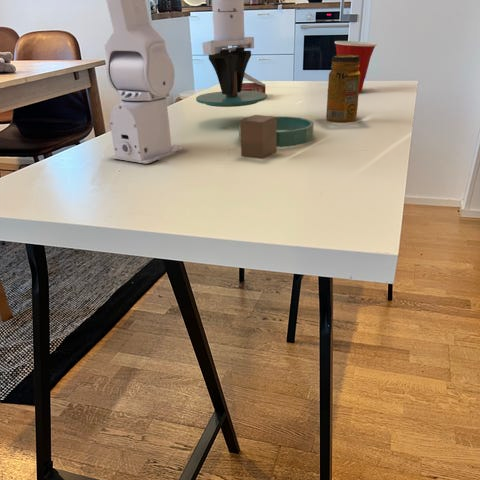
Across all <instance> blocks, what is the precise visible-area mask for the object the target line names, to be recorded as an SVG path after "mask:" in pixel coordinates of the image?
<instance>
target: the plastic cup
mask: <svg viewBox="0 0 480 480" xmlns="http://www.w3.org/2000/svg"><path fill="white" fill-rule="evenodd" d="M334 44H335V52H336V56H337V55H357V56H359V57H360V60H359V72H360V85H359V94H360V93H362V90H363V88H364V83H365V79H366V77H367V73H368V69H369V65H370V62H371V57H372V55H373V52H374V49H375V48H376V46H377V45H378V44H377V43H375V42H368V41H354V40H335V41H334Z"/></svg>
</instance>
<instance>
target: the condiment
mask: <svg viewBox="0 0 480 480" xmlns="http://www.w3.org/2000/svg"><path fill="white" fill-rule="evenodd" d="M359 60H360V57H359V56H357V55H337V54H336V55H333V56H332V58H331V66H330V68H331V70H330V72H329V73H328V82H327V84H328V85H327V95H326V96H327V100H326V112H325V113H326V114H325V118H326V121H327V122H330V123H336V124H337V123H339V124H342V123H343V124H345V123H352V122H355V121H356V119H357V116H358V115H357V114H358V109H359V108H358V106H359V96H360V95H359V94H360V93H359V85H360V72H359Z"/></svg>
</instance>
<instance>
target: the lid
mask: <svg viewBox="0 0 480 480" xmlns="http://www.w3.org/2000/svg"><path fill="white" fill-rule="evenodd" d="M267 99H268V94H267V93H266V92H265V93H262V92H256V91H241V92H239V93H238V88H237V70H235V72H234V89H233V94H232V95H226V94H222V91H214V92H208V93H203V94H200V95H198V96H195V100H196V102H197V103H199V104H201V105H202V104H203V105H206V106H209V107H218V108H231V107H232V108H235V107H237V108H238V107H247V106H250V105H255V104H258V103H260V102H263V101H265V100H267Z"/></svg>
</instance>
